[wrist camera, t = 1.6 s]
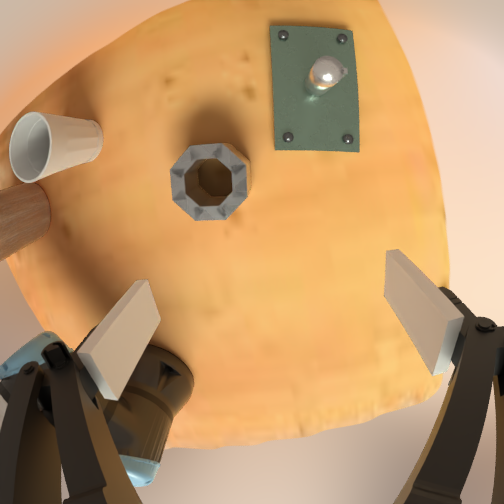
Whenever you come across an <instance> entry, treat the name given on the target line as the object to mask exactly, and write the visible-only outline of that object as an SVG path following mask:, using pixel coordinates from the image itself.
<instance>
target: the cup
mask: <svg viewBox="0 0 504 504" xmlns="http://www.w3.org/2000/svg"><path fill="white" fill-rule="evenodd" d="M102 146H103V132H102V129H101V127H100V125H99V124H98V123H97V122H95V121H93V120H88V119H79V118H73V117H66V116H60V115H53V114H48V113H41V112H29V113H27V114H25V115H24V116H22V117H21V118H20V120H19V121H18V122H17V124H16V125H15V127H14V129H13V132H12V135H11V139H10V144H9V158H10V163H11V167H12V169H13V172H14V173H15V175H16V176H17V177H18V178H19V179H20V180H21V181H23V182H25V183H32V182H35V181H37V180H39V179H42V178H44V177H46V176H49V175H51V174H53V173H56V172H59V171H62V170H65V169H67V168H70V167H73V166H76V165H79V164H83V163H88V162H91V161H93V160H94V159H95V158H96V157H97V156H98V155H99V153H100V151H101V149H102Z"/></svg>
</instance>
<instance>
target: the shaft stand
mask: <svg viewBox="0 0 504 504" xmlns="http://www.w3.org/2000/svg"><path fill="white" fill-rule="evenodd" d="M270 42H271V61H272V82H273V106H274V135H275V150H317V151H344V152H359V104H358V85H357V71H356V60H355V50H354V41H353V33H352V31H350V30H342V29H333V28H322V27H308V26H270Z"/></svg>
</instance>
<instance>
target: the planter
mask: <svg viewBox="0 0 504 504" xmlns="http://www.w3.org/2000/svg"><path fill="white" fill-rule="evenodd" d="M50 218H51V213H50V206H49V202H48V199H47V196H46V194H45V192H44V191H43V190H42V188H41V187H40V186H39V185H37V184H36V183H33V182H32V183H22V184H19V185H16V186H12V187H9V188H6V189H3V190H0V262H1V261H2V260H4V259H5V258H7V257H9V256H10V255H12V254H14V253H15V252H17V251H19V250H20V249H22V248H24V247H26V246H27V245H29V244H31V243H33V242H34V241H36V240H38V239H40V238H41V237H43V236H44V235H45V234H46V232H47V231H48V228H49V225H50Z"/></svg>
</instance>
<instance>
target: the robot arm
mask: <svg viewBox="0 0 504 504" xmlns="http://www.w3.org/2000/svg"><path fill="white" fill-rule="evenodd" d="M384 297H385V298H386V300H387V301H388V303H389V304H390V306H391V308H392V309H393V311H394V312H395V314H396V315H397V317H398V319H399V320H400V322H401V323H402V325H403V327H404V328H405V330H406V332H407V333H408V335H409V337H410V338H411V340H412V342H413V343H414V345H415V347H416V348H417V350H418V352H419V354H420V355H421V357H422V359H423V361H424V362H425V364H426V366H427V368H428V370H429V371H430V373H431V375H432V376H434V375H438V374H441V373H444V372H447V371H448V368H449V365H450V362H451V361H452V363H453V364H454V366H455V369H454V371H453V374H452V377H451V379H450V381H449V384H448V385H449V387H448V390H447V393H446V396H445V399H444V402H443V404H442V407H441V410H440V412H439V415H438V417H437V420H436V422H435V425H434V427H433V429H432V432H431V434H430V436H429V439H428V441H427V443H426V445H425V447H424V449H423V451H422V453H421V455H420V458H419V460H418V461H417V463H416V465H415V467H414V469H413V471H412V473H411V475H410V476H409V478H408V480H407V482H406V484H405V485H404V487H403V489H402V490H401V492H400V494H399V495H398V497H397V499H396V500H395V502H394V503H393V504H461V503H462V500H461V499H460V494H461V491H462V489H463V486H464V484H465V481H466V478H467V476H468V474H469V471H470V468H471V465H472V462H473V460H474V457H475V454H476V451H477V447H478V444H479V441H480V437H481V433H482V430H483V426H484V422H485V418H486V413H487V409H488V404H489V399H490V394H491V387H492V382H493V385H494V395H495V409H496V438H497V439H496V466H495V478H494V488H493V495H492V502H491V504H504V326H502V327H497V325H496V324H495V323H494V322H493V321H492V320H491V319H488V318H485V317H476V316H475V315H474V314H473V313H472V312H471V311H470V310H469V309H468V308H467V306H466V305H465V304H464V303H462V301H461V300H460V299H459V298H457V296H456V295H455V294H454V293H453V292H452V291H450V290H448V289H447V288H445V287H439V288H438V287H437V286H436V285H435V284H434V283H433V282H432V281H431V280H430V279H429V278H428V277H427V276H426V275H425V274H424V273H423V272H422V271H421V270H420V269H419V268H418V267H417V266H416V265H415V264H414V263H413V262H412V261H411V260H410V259H408V258H407V257H406V256H405V255H404V254H403V253H402V252H401V251H400V250H399V249H396V250H389V251H386V270H385V288H384ZM160 321H161V317H160V315H159V312H158V309H157V306H156V303H155V300H154V297H153V294H152V291H151V288H150V285H149V282H148V279H144V280H136V281H135V282H134V283H133V285H132V286H131V287H130V288H129V289H128V290H127V292H126V293H125V294H124V295H123V296H122V297H121V299H120V300H119V301H118V302H117V303H116V304H115V306H114V307H113V308H112V309H111V310H110V312H109V313H108V314H107V315H106V316H105V318H104V319H103V320H102V321H101V322H100V324H98V325H97V326H96V327H94V328H93V329H92V330H91V331H90V332H89V333H88V335H87V337H85V338H84V340H83V342H81V343H80V345H79V346H78V347H77V348H76V350H75V351H74V350H73V349H72V348H69V347H68V346H67V345H66V344H65V343H64V342H63V341H62V340H61V339H60V338H59V337H58V335H56V334H55V333H54V332H51V331H45V332H42V333H40V334H39V335H37V336H36V337H34V338H33V339H32V340H30V341H29V342H28V343H26V344H25V345H24V346H23V347H21V348H20V349H19V350H18V351H16V352H15V353H14V354H13V355H12V356H11V357H9V358H8V359H7V360H6V361H5V362H4V363H3V364H2V365H1V366H0V379H1V382H0V504H62V502H61V501H62V499H61V464H62V468H63V473H64V477H65V481H66V484H67V488H68V492H69V496H70V497H69V498H68V499H65V500H64V501H63V504H142V502H141V500H140V498H139V496H138V494H137V493H136V490H135V488H134V486H137V487H140V486H147V485H149V484H150V483H152V481H153V480H154V478H155V475H156V473H157V470H158V468H159V467H160V461H161V457H162V454H163V451H164V448H165V444H166V441H167V438H168V434H169V431H170V428H171V424H172V421H173V418H174V417H175V416H176V415H177V413H178V412H179V411H180V410H181V409H182V408H183V406H184V405H185V404H186V403H187V402H188V400H189V399H190V397H191V394H192V391H193V387H194V380H193V376H192V374H191V372H190V370H189V369H188V368H187V366H186V365H185V364H184V363H183V362H182V361H181V360H180V359H178V358H177V357H176V356H174V355H173V354H171V353H169V352H168V351H166V350H164V349H161V348H159V347H156V346H152V345H148V343H149V341H150V339H151V337H152V335H153V334H154V332H155V330H156V328H157V327H158V325H159V323H160ZM73 351H74V352H73Z"/></svg>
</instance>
